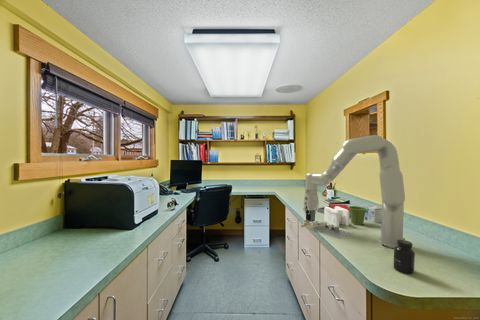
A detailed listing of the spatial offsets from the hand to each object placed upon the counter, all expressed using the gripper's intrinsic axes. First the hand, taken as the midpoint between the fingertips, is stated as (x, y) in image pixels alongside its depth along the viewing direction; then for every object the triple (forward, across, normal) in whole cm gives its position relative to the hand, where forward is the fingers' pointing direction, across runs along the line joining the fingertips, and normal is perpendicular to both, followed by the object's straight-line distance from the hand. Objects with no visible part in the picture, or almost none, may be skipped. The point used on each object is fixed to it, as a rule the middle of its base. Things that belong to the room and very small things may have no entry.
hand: (310, 219), depth 137 cm
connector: (+1, 0, 0) cm, 1 cm away
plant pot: (+6, +37, -12) cm, 39 cm away
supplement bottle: (+5, -10, -55) cm, 56 cm away
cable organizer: (+6, +21, -6) cm, 22 cm away
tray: (+5, +54, +11) cm, 55 cm away
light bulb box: (+6, +54, -14) cm, 56 cm away
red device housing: (+5, +54, +11) cm, 55 cm away
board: (+5, +3, -10) cm, 11 cm away
